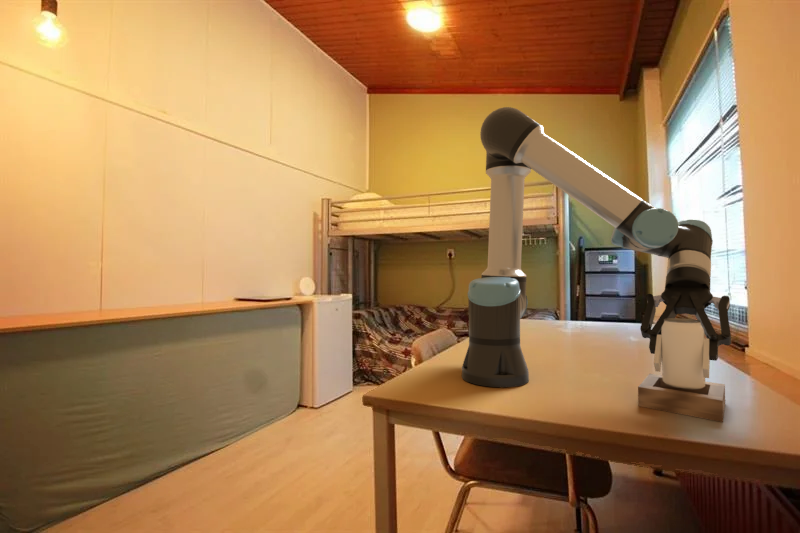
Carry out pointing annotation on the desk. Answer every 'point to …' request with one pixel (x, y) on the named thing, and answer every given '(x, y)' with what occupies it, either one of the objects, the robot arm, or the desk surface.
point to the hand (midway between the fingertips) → (680, 370)
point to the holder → (683, 398)
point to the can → (682, 353)
